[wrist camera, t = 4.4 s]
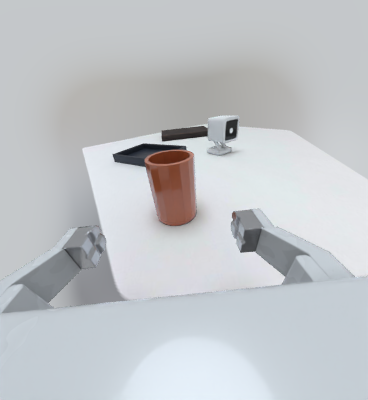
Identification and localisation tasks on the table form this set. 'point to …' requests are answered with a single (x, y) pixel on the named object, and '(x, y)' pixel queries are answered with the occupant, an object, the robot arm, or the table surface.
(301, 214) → the table surface
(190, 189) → the cup
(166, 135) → the hardcover book
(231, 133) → the security camera
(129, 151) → the tray
